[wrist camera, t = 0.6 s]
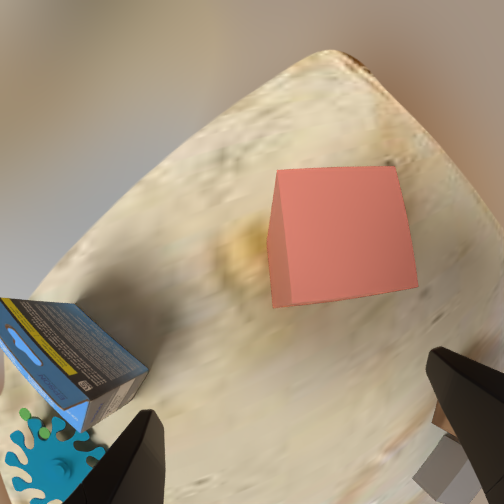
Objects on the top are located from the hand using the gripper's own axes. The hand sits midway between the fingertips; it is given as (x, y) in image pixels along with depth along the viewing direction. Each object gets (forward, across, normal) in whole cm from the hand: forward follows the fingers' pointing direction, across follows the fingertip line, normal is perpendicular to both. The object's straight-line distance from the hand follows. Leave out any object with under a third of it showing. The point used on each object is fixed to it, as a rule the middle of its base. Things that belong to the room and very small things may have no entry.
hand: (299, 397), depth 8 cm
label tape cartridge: (+13, +14, +6) cm, 20 cm away
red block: (+15, -3, +3) cm, 15 cm away
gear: (+8, +20, +14) cm, 26 cm away
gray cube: (+3, -14, +21) cm, 26 cm away
